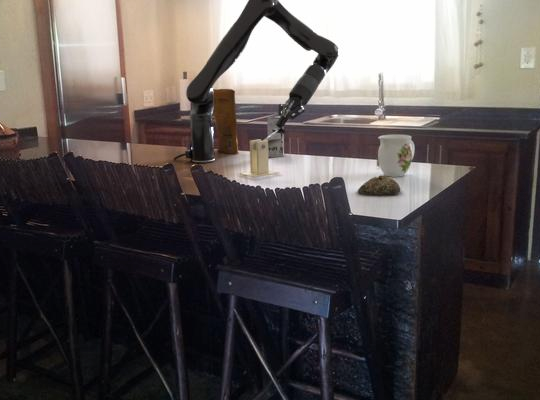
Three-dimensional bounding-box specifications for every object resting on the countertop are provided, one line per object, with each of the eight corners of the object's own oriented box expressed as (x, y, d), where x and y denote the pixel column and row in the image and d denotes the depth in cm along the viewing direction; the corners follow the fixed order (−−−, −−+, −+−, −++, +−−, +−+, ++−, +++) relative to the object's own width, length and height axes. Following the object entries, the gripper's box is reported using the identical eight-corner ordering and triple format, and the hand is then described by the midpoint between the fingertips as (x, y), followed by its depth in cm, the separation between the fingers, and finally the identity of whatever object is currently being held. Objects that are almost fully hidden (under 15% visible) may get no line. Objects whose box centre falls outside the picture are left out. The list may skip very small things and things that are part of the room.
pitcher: (426, 172, 220) (427, 132, 217) (392, 180, 211) (393, 139, 207) (400, 168, 229) (401, 130, 226) (366, 176, 220) (366, 136, 216)
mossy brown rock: (399, 197, 189) (399, 180, 188) (356, 195, 194) (356, 179, 193) (402, 187, 201) (402, 172, 199) (361, 186, 205) (362, 171, 204)
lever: (275, 132, 234) (273, 126, 233) (286, 133, 229) (283, 128, 228) (252, 149, 230) (249, 144, 229) (262, 151, 225) (259, 145, 224)
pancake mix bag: (230, 155, 274) (228, 89, 268) (209, 150, 291) (206, 88, 284) (244, 153, 277) (241, 88, 271) (222, 148, 294) (219, 87, 287)
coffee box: (283, 157, 264) (282, 118, 260) (267, 157, 266) (266, 118, 262) (284, 153, 273) (283, 115, 269) (269, 153, 274) (268, 115, 270)
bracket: (264, 171, 237) (263, 137, 234) (279, 175, 229) (278, 140, 226) (239, 176, 231) (238, 141, 228) (254, 180, 224) (253, 143, 221)
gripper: (286, 82, 237) (261, 119, 234) (310, 83, 226) (284, 121, 223) (297, 95, 241) (273, 131, 238) (322, 97, 230) (296, 134, 227)
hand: (278, 126), depth 231 cm, fingers closed
